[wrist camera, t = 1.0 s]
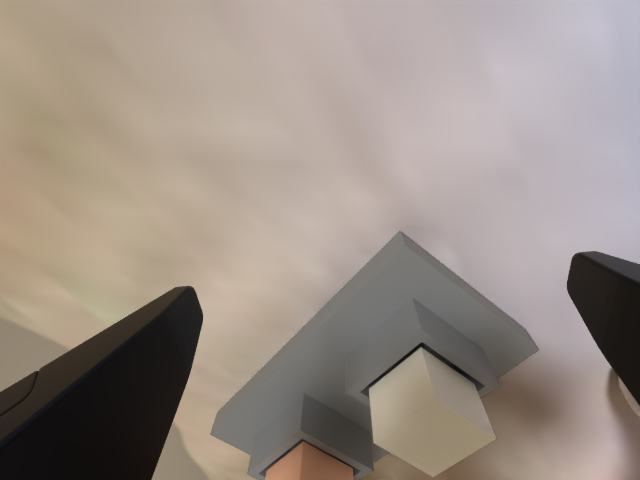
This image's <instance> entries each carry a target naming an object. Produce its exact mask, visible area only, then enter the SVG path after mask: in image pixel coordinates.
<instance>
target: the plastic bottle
mask: <svg viewBox="0 0 640 480" xmlns="http://www.w3.org/2000/svg"><path fill="white" fill-rule="evenodd" d="M619 387H620V390H621V391H622V393H623V395H624V397H625V398H626V400H627V402H628V403H629V405H630V407H631V408H632V410H633V411H634V412H635V413H636V414H637V415H638V416H639V417H640V406H639V405H638V403H637V402H636V400H635V399H634V398H633V396H632V395H631V393H630V392H629V391H628V389H627V388H626V386H625V385H624V383H623V382H622V381H621V379H620V378H619Z"/></svg>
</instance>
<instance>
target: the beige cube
mask: <svg viewBox="0 0 640 480" xmlns="http://www.w3.org/2000/svg"><path fill="white" fill-rule="evenodd" d="M369 397H370V409H371V420H372V431H373V443H374V444H376V445H378V446H380V447H381V448H383V449H385V450H387V451H388V452H390V453H392V454H393V455H395V456H397V457H399V458H400V459H402V460H404V461H406V462H407V463H409V464H411V465H413V466H414V467H416V468H418V469H419V470H421V471H423V472H425V473H426V474H428V475H430V476H432V477H435V476H436V475H438V474H439V473H441V472H443V471H444V470H446V469H448V468H449V467H451V466H453V465H454V464H456V463H458V462H459V461H461V460H463V459H464V458H466V457H468V456H469V455H471V454H472V453H474V452H476V451H477V450H479V449H481V448H482V447H484V446H486V445H487V444H489V443H491V442H492V441H494V440H496V439H497V438H496V436H495V434H494V431H493V429H492V426H491V424H490V421H489V419H488V416H487V414H486V411H485V409H484V407H483V404H482V402H481V399H480V397H479V394H478V392H477V389H476V387H475V384H474V383H472V382H471V381H469V380H468V379H466V378H465V377H464V376H462V375H461V374H459V373H458V372H456V371H455V370H453V369H452V368H451V367H449V366H448V365H446V364H445V363H443V362H442V361H440V360H439V359H438V358H436V357H435V356H433V355H432V354H430V353H429V352H427V351H426V350H425V349H423V348H422V347H420V348H419V349H418V350H417V351H415V352H414V353H413V354H412V355H410V356H409V357H408V358H407V359H406V360H404V361H403V362H402V363H401V364H399V365H398V366H397V367H396V368H394V369H393V370H392V371H391V372H389V373H388V374H387V375H386V376H384V377H383V378H382V379H381V380H379V381H378V382H377V383H376V384H374V385H373V386H372V387H371V388H369Z"/></svg>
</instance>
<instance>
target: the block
mask: <svg viewBox="0 0 640 480" xmlns="http://www.w3.org/2000/svg"><path fill="white" fill-rule="evenodd" d="M420 347H422V348H423V349H425V350H426V351H427V352H429V353H430V354H432V355H433V356H435V357H436V358H438V359H439V360H440V361H442V362H443V363H445V364H446V365H448V366H449V367H451V368H452V369H453V370H455V371H456V372H458V373H459V374H461V375H462V376H464V377H465V378H466V379H468V380H469V381H471V382H472V383H474V384H475V387H476V389H477V392H478V394H479V397H480V399H481V398H483V397H484V396H486V395H487V394H488V393H490V392H491V391H493V390H494V389H496V388H497V387H499V386H500V384H499V382H498V379H497V378H499V377H500V376H502V375H503V374H505V373H506V372H508V371H509V370H511V369H512V368H514V367H515V366H517V365H518V364H519V363H521V362H522V361H524V360H525V359H527V358H528V357H530V356H531V355H533V354H534V353H536V352H537V351H538V350H539V348H538V347H537V345H536V344H535V342H534V341H533V339H532V338H531V336H530V335H529V333H528V332H527V330H526V329H525V328H524V327H522V326H521V325H520V324H518V323H517V322H516V321H515V320H513V319H512V318H511V317H510V316H508V315H507V314H506V313H504V312H503V311H502V310H501V309H499V308H498V307H497V306H496V305H494V304H493V303H492V302H490V301H489V300H488V299H487V298H485V297H484V296H483V295H482V294H480V293H479V292H478V291H476V290H475V289H474V288H473V287H471V286H470V285H469V284H468V283H466V282H465V281H464V280H462V279H461V278H460V277H459V276H457V275H456V274H455V273H454V272H452V271H451V270H450V269H448V268H447V267H446V266H445V265H443V264H442V263H441V262H439V261H438V260H437V259H436V258H434V257H433V256H432V255H431V254H429V253H428V252H427V251H425V250H424V249H423V248H422V247H420V246H419V245H418V244H417V243H415V242H414V241H413V240H411V239H410V238H409V237H408V236H406V235H405V234H404V233H403V232H401V231H399V232H398V233H397V234H396V235H395V236H394V237H393V238H392V239H391V240H390V241H389V242H388V243H387V244H386V245H385V246H384V247H383V248H382V249H381V250H380V251H379V252H378V253H377V254H376V255H375V256H374V257H373V258H372V259H371V260H370V261H369V262H368V263H367V264H366V265H365V266H364V267H363V268H362V269H361V270H360V271H359V272H358V273H357V274H356V275H355V276H354V277H353V278H352V279H351V280H350V281H349V282H348V283H347V284H346V285H345V286H344V287H343V288H342V289H341V290H340V291H339V292H338V293H337V294H336V295H335V296H334V297H333V298H332V299H331V300H330V301H329V302H328V303H327V304H326V305H325V306H324V307H323V308H322V309H321V310H320V311H319V312H318V313H317V314H316V315H315V316H314V317H313V318H312V319H311V320H310V321H309V322H308V323H307V324H306V325H305V326H304V327H303V328H302V329H301V330H300V331H299V332H298V333H297V334H296V335H295V336H294V337H293V338H292V339H291V340H290V341H289V342H288V343H287V344H286V345H285V346H284V347H283V348H282V349H281V350H280V351H279V352H278V353H277V354H276V355H275V356H274V357H273V358H272V359H271V360H270V361H269V362H268V363H267V364H266V365H265V366H264V367H263V368H262V369H261V370H260V371H259V372H258V373H257V374H256V375H255V376H254V377H253V378H252V379H251V380H250V381H249V382H248V383H247V384H246V385H245V386H244V387H243V388H242V389H241V390H240V391H239V392H238V393H237V394H236V395H235V396H234V397H233V398H232V399H231V400H230V401H229V402H228V403H226V404H225V405H224V406H223V407H222V408H221V409H220V410H219V411H218V412H217V415H216V418H215V421H214V424H213V427H212V430H211V433H210V435H212V436H214V437H216V438H218V439H220V440H222V441H224V442H226V443H228V444H230V445H232V446H234V447H236V448H238V449H240V450H242V451H244V452H246V453H248V454H250V455H251V457H250V462H249V467H248V471H247V474H248V475H250V476H252V477H254V478H256V479H258V480H265V477H266V471H267V470H268V469H269V468H271V467H272V466H273V465H274V464H276V463H277V462H278V461H279V460H281V459H282V458H283V457H284V456H286V455H287V454H288V453H289V452H291V451H292V450H293V449H294V448H296V447H297V446H298V445H299V444H301V443H302V442H303V441H304V442H306V443H307V444H309V445H311V446H313V447H315V448H317V449H318V450H320V451H322V452H324V453H326V454H328V455H329V456H331V457H333V458H335V459H337V460H339V461H340V462H342V463H344V464H346V465H348V466H350V467H352V468H353V480H360V479H362V478H363V477H365V476H366V475H368V474H369V473H371V472H372V471H374V470H373V463H374V462H376V461H377V460H379V459H380V458H382V457H383V456H385V455H386V454H388V453H389V452H388V451H387V450H385V449H383V448H381V447H380V446H378V445H376V444H374V443H373V431H372V420H371V409H370V397H369V388H371V387H372V386H373V385H374V384H376V383H377V382H378V381H379V380H381V379H382V378H383V377H384V376H386V375H387V374H388V373H389V372H391V371H392V370H393V369H394V368H396V367H397V366H398V365H399V364H401V363H402V362H403V361H404V360H406V359H407V358H408V357H409V356H410V355H412V354H413V353H414V352H415V351H417V350H418V349H419V348H420Z"/></svg>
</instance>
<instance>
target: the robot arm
mask: <svg viewBox="0 0 640 480" xmlns="http://www.w3.org/2000/svg"><path fill="white" fill-rule="evenodd" d="M567 290H568V293H569V295H570V297H571V299H572V301H573V303H574V304H575V306H576V308H577V310H578V312H579V313H580V315H581V317H582V319H583V321H584V322H585V324H586V326H587V328H588V330H589V332H590V333H591V335H592V337H593V339H594V341H595V342H596V344H597V346H598V347H599V349H600V350H601V352H602V353H603V355H604V356H605V358H606V359H607V361H608V362H609V364H610V365H611V367H612V368H613V369H614V371H615V372H616V374H617V375H618V376H619V378H620V379H621V381H622V382H623V383H624V385H625V386H626V388H627V389H628V391H629V392H630V393H631V395H632V396H633V398H634V399H635V400H636V402H637V403H638V405H639V406H640V264H637V263H633V262H630V261H627V260H623V259H620V258H617V257H614V256H610V255H607V254H604V253H600V252H596V251H590V252H579V253H576V254H575V255H574V256H573V257H572V260H571V265H570V270H569V275H568V280H567ZM202 323H203V313H202V309H201V306H200V303H199V300H198V297H197V294H196V292H195V289H194V288H193V287H191V286H182V287H175V288H173V289H172V290H170V291H168V292H167V293H165V294H163V295H162V296H160V297H158V298H157V299H155V300H153V301H152V302H150V303H148V304H147V305H145V306H143V307H142V308H140V309H138V310H137V311H135V312H133V313H132V314H130V315H128V316H127V317H125V318H123V319H122V320H120V321H118V322H117V323H115V324H113V325H112V326H110V327H108V328H107V329H105V330H103V331H102V332H100V333H98V334H97V335H95V336H93V337H92V338H90V339H88V340H87V341H85V342H83V343H82V344H80V345H78V346H77V347H75V348H73V349H72V350H70V351H68V352H67V353H65V354H63V355H62V356H60V357H58V358H57V359H55V360H53V361H52V362H50V363H49V364H47V365H45V366H43V367H42V368H41V369H40V370H39V371H35V372H33V373H32V374H30V375H28V376H27V377H25V378H23V379H22V380H20V381H18V382H17V383H15V384H13V385H11V386H10V387H8V388H6V389H5V390H3V391H2V392H0V480H151V479H152V476H153V474H154V471H155V468H156V465H157V463H158V460H159V457H160V455H161V452H162V449H163V447H164V444H165V441H166V438H167V435H168V433H169V430H170V427H171V425H172V422H173V419H174V417H175V414H176V411H177V408H178V406H179V403H180V400H181V397H182V395H183V392H184V389H185V387H186V384H187V381H188V378H189V375H190V371H191V368H192V364H193V360H194V356H195V352H196V347H197V343H198V339H199V335H200V331H201V327H202Z"/></svg>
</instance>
